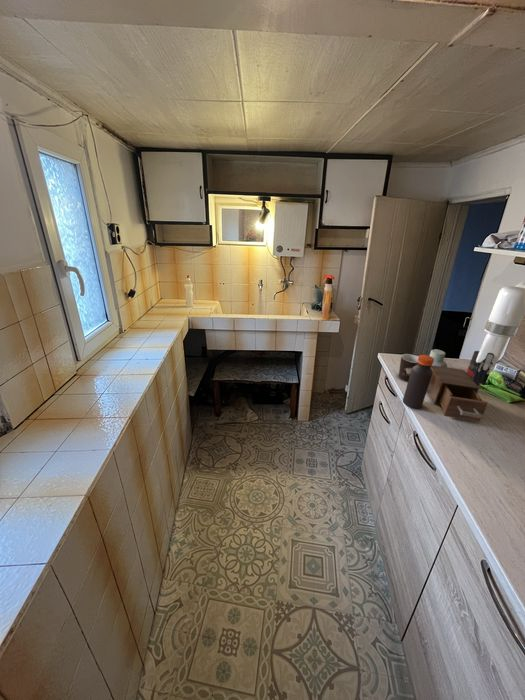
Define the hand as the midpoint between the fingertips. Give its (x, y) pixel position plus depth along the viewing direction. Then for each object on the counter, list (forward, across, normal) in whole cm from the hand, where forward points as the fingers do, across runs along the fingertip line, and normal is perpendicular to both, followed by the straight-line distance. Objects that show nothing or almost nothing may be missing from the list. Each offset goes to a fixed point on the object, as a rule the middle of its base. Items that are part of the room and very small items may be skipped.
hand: (480, 377), depth 92 cm
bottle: (+19, 0, -16) cm, 25 cm away
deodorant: (+18, -34, -1) cm, 39 cm away
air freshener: (+19, -36, -17) cm, 44 cm away
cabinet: (+18, -15, -8) cm, 25 cm away
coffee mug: (+19, -19, -23) cm, 35 cm away
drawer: (+18, -5, -2) cm, 18 cm away
